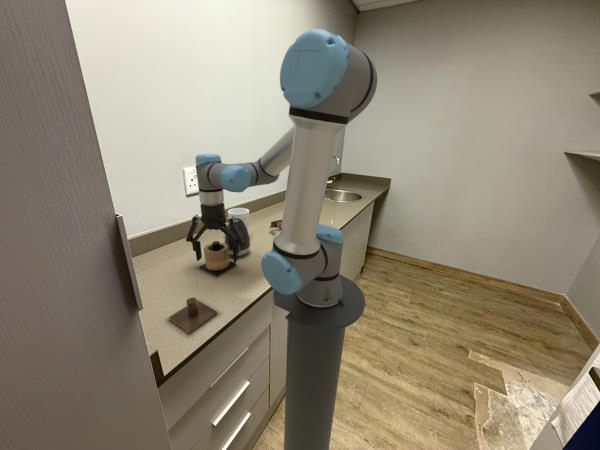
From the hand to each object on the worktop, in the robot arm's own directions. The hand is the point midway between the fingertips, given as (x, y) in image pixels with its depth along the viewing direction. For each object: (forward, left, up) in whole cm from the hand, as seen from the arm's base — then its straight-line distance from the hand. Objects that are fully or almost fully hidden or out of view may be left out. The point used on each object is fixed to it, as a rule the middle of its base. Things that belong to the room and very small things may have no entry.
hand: (217, 259), depth 87 cm
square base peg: (0, 0, -3) cm, 3 cm away
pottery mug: (0, -40, -3) cm, 40 cm away
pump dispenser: (+2, -12, -3) cm, 13 cm away
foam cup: (+13, -24, -3) cm, 27 cm away
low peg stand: (-15, +21, -3) cm, 26 cm away
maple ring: (0, 0, -2) cm, 2 cm away
